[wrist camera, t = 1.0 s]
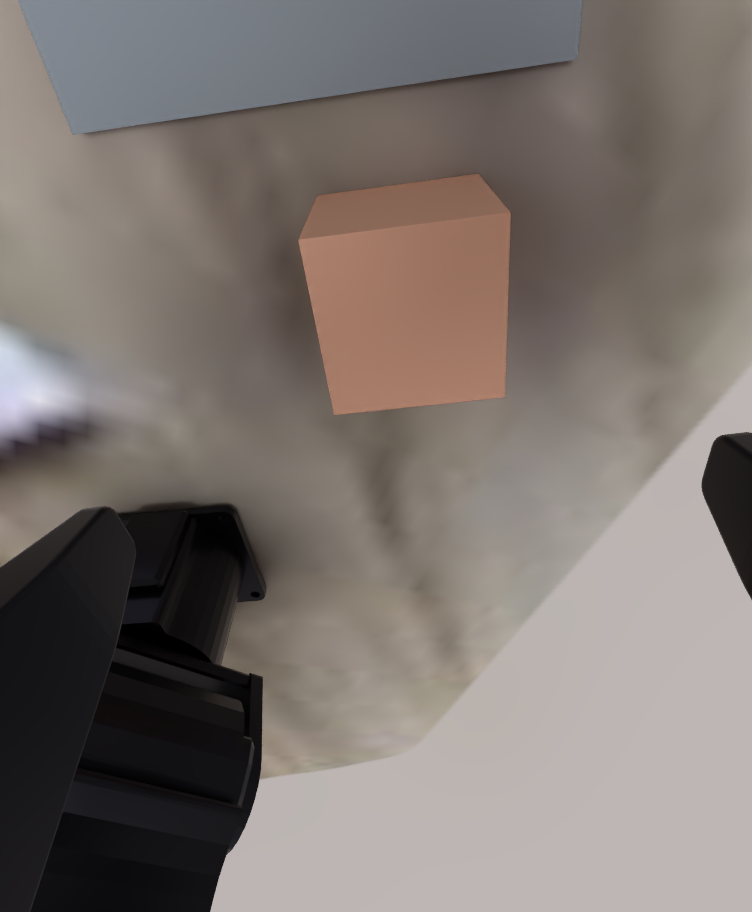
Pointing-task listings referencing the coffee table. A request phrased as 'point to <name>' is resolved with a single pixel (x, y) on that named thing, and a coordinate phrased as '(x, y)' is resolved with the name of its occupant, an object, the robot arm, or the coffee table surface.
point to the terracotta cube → (410, 293)
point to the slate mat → (276, 50)
